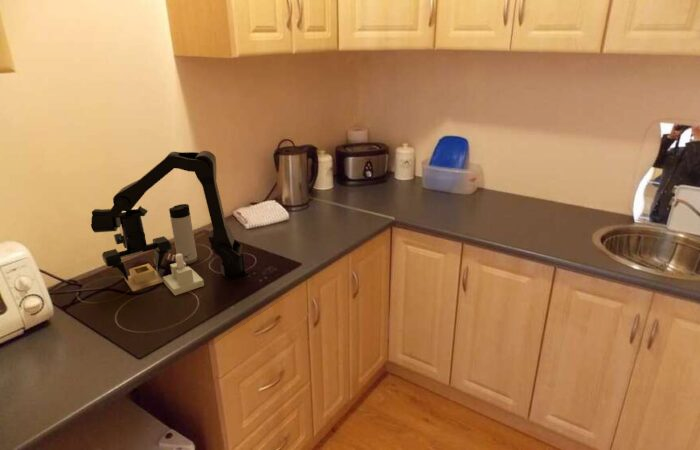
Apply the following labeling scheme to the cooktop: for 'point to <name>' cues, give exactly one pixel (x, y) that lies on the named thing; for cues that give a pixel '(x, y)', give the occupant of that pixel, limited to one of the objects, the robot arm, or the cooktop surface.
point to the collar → (142, 274)
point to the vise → (182, 277)
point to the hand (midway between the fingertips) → (142, 275)
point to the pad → (143, 285)
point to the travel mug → (183, 232)
